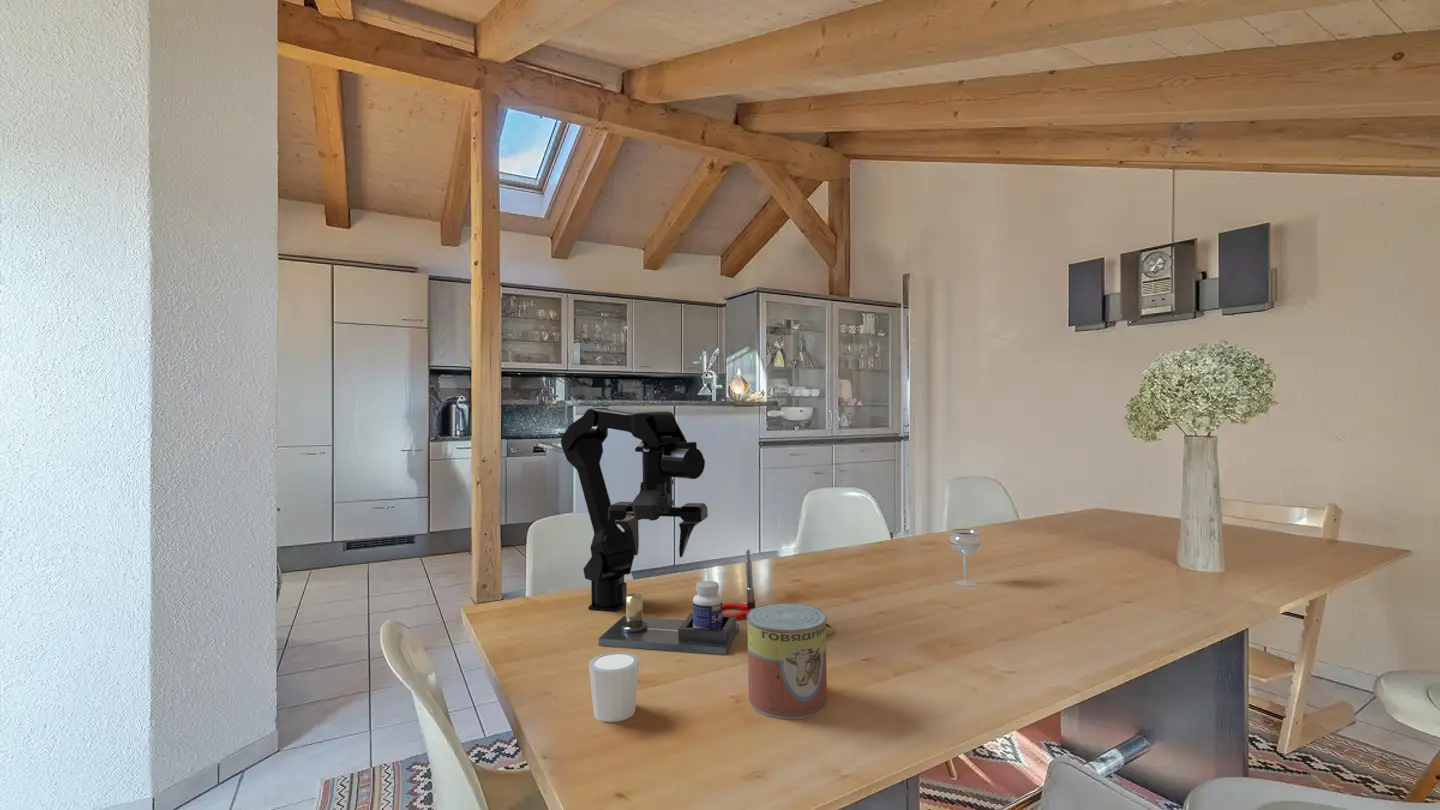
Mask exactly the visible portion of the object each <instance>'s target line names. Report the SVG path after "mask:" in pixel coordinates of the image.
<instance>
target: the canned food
mask: <svg viewBox="0 0 1440 810" xmlns="http://www.w3.org/2000/svg"><path fill="white" fill-rule="evenodd" d="M755 607H756V608H754V609H752V610H750V611H749V612H748V614H747V617H746V619H747V666H748V667H747V671H748V672H747V674H748V675H747V676H748V677H747V678H748V679H747V680H748V681H747V682H748V695H747V702H748V704H749V706H750V707H751V708H752V709H753V710H754V711H756V712H757V713H759V714H761V715H763V714H764V715H763V716H766V715H767V717H769V716H770V718H773V717H774V718H773V719H778V718H780V719H779V720H802V719H808V718H811V717H814V716H815V717H816V716H817V715H819V714H821V713H822V712H823V711H825V710H826V708H827V706H828V703H829V702H828V700H829V699H828V685H827V684H828V680H827V679H828V677H827V675H828V674H827V672H828V671H827V668H828V667H827V634H826V624H827V615H826V614H825V613H824V611H822V610H820V609H818V608H816V607H813V606H810V605H806V604H800V603H789V602H788V603H787V602H786V603H785V602H782V603H780V602H779V603H770V604H764V605H759V606H755Z"/></svg>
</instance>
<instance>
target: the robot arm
mask: <svg viewBox="0 0 1440 810" xmlns="http://www.w3.org/2000/svg"><path fill="white" fill-rule="evenodd" d="M674 415H675V414H674V413H672V412H671V411H669V410H667V411H664V410H662V411H659V410H658V411H639V412H630V411H624V410H616V409H611V408H608V407H591V408H588V409H587V410H585V413H584V414H583V415H582V416H581V417H580V418H578V419H577V420H575V421H574V422H572V423H570V425H569V426H568V428H567V429H566V430H565V432H564V433H563V435H562V436H561V438H560V439H561V440H560V445H561V446H560V447H561V448H562V452H563V454H564V456H565V458H566V461H568V462H569V464H570V465H571V466H573V468H574V469H576V471H577V474H578V478H579V481H580V485H581V489H582V493H583V497H584V500H585V503H586V508H587V512H588V515H589V520H590V522H591V527H592V530H593V538H592V540H591V541H592V542H591V544H590V553H591V557H590V558H589V560H588V561H587V563H586V564H585V565H584V567H583V569H582V571H583V574H584V579H585V580H587V581H591V582H590V583H591V585H590V586H591V589H590V590H591V592H590V593H591V595H590V596H591V604H589V605H588V607H587V608H588V610H598V611H599V610H600V611H614V612H615V611H619V610H620V609H621V608H622V607H623V606H625V605H626V595H628V592H627V591H628V590H627V587H628V585H627V584H628V583H627V582H625V576H626V575H627V576H628V575H630V574H631V572H632V567H633V563H634V559H635V556H638V555H639V548H640V547H639V546H640V545H639V544H640V542H639V541H640V539H639V537H640V536H639V534H640V533H639V521H641V520H649V521H657V520H658V519H660V517H670V518H671V517H672V518H673V517H675V518H680V519H681V520H682V521H680V522H679V524H678V526H679V530H680V532H679V533H680V534H679V547H678V552H679V558H683V556H684V554H685V551H686V549H687V545H688V542H689V539H690V537H691V534H692V532H693V530H694V528H695V527H696V526H697V525H698V524H699V523H701V522H703V521H704V520H706V519H707V518H708V516H709V515H708V512H709V511H708V507H707V505H706V503H704V502H702V503H701V502H687V503H685V504H684V505H682V506H675V500H674V499H673V485H674V483H675V482H674V479H673V478H679V479H688V480H696V479H698V478H700V477H701V475H702V474H703V472H704V470H705V465H706V460H705V458H704V454H703V453H702V452H701V450H700V449H698V448H697V447H698V446H697V445H698V444H697V442H696V441H687V439H686V436H685V435H684V433H683V432H682V430H681V428H680V426H679V424H678V422H677V420H676V418H675V416H674ZM593 427H596V428H593ZM608 429H610V430H617V431H621V432H622V431H623V432H626V433H627V432H628V433H630V434H631V435H632V437H634V438H636V439H639V440H640V441H641V442H640V444H638V445H637V446H636V447H635V448H634V451H635V453H636V452H637V453H642V456H641V457H642V463H641V464H642V481H641V482H640V486H639V487H640V490H639V493H638V494H637V495H636V496H635V498H634V500H633V501H618V502H615V503H613V504H612V503H611V500H610V499H611V498H610V496H609V493H608V489H607V485H606V481H605V478H604V474H603V471H602V467H601V461H602V456H603V453H604V447H603V443H604V442H605V441H606V439H607V438H608V436H609V435H608V434H609V433H608V432H609V430H608ZM618 525H619V526H618ZM621 528H622V529H623V530H622V529H621Z"/></svg>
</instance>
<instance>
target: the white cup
mask: <svg viewBox="0 0 1440 810" xmlns="http://www.w3.org/2000/svg"><path fill="white" fill-rule="evenodd" d="M639 663H640V660H639V657H638V656H636V655H635V654H633V653H629V652H622V651H621V652H620V651H617V652H616V651H615V652H607V653H603V654H600V655H596V656H595V657H594V658H591V660H590V661H589V662H588V669H589V671H588V672H589V678H590V680H589V681H590V689H591V698H592V709H593V714H594V715H593V716H594V718H595V719H597V720H598V721H601V722H606V723H615V722H621V721H624V720H627V719H629V718H630V717H632V716H633V715H634V714H635V711H636V703H637V691H638V680H639V679H638V678H639V665H640V664H639Z"/></svg>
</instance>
